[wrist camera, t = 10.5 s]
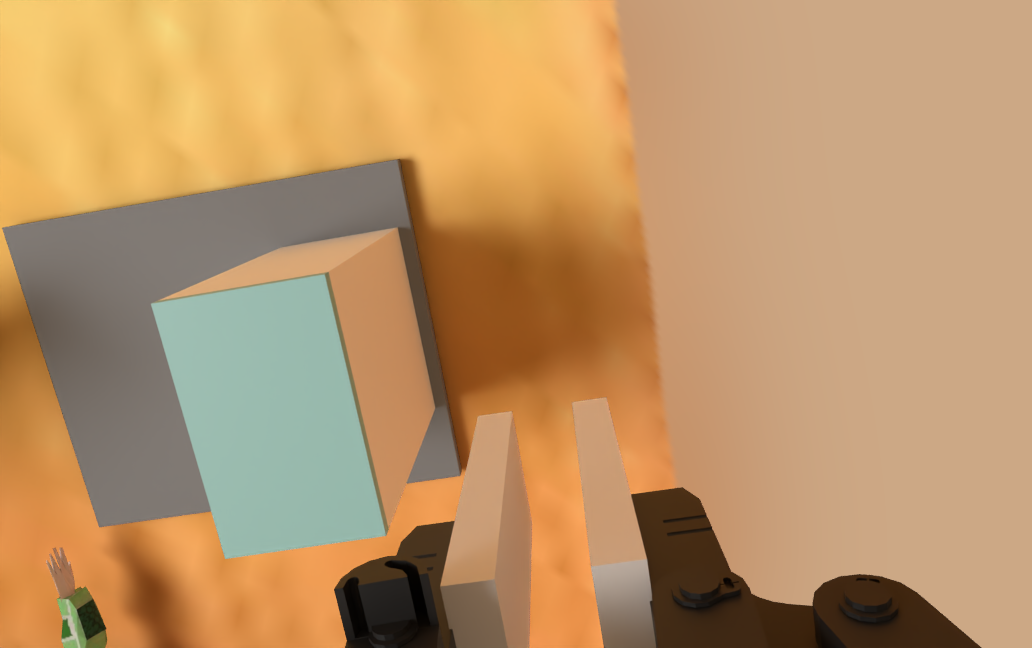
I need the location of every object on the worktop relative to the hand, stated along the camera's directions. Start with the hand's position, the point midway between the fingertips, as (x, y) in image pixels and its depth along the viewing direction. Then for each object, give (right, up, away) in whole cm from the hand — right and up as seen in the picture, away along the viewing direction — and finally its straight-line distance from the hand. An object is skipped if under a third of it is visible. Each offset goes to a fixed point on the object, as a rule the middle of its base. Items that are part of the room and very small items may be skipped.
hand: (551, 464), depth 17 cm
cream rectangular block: (-7, +3, +16) cm, 18 cm away
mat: (-13, +2, +17) cm, 21 cm away
